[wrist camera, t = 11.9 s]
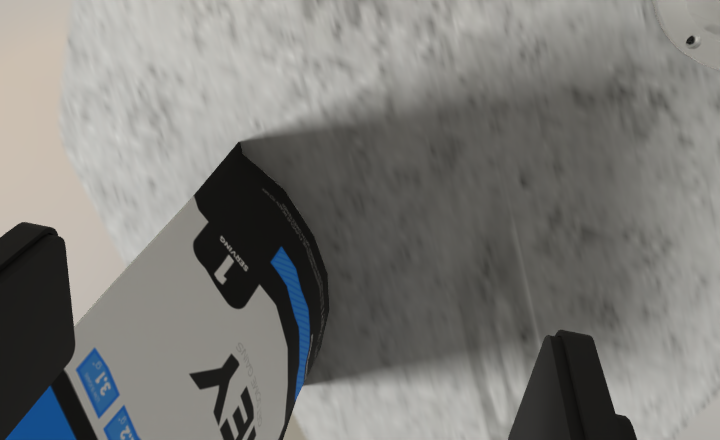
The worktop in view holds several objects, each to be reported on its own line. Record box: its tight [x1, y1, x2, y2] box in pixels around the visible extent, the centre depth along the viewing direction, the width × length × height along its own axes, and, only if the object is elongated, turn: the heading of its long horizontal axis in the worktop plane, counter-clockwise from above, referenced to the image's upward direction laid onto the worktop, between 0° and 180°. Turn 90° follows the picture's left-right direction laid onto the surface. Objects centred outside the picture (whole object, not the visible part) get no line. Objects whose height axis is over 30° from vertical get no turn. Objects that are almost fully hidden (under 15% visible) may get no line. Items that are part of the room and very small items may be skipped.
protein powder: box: [5, 142, 329, 440], centre depth 39 cm, size 10×24×30 cm, turn 9°
